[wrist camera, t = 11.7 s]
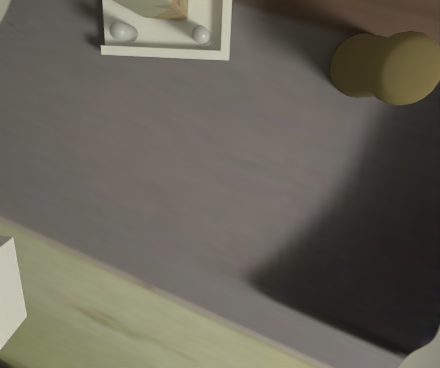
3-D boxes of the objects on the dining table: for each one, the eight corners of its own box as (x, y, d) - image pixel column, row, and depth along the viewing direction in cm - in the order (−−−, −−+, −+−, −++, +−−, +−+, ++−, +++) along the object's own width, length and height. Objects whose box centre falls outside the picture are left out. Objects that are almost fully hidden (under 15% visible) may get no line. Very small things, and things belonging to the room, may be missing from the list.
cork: (345, 24, 34) (394, 9, 23) (403, 44, 34) (477, 39, 24) (320, 86, 36) (355, 99, 25) (375, 105, 36) (432, 124, 26)
